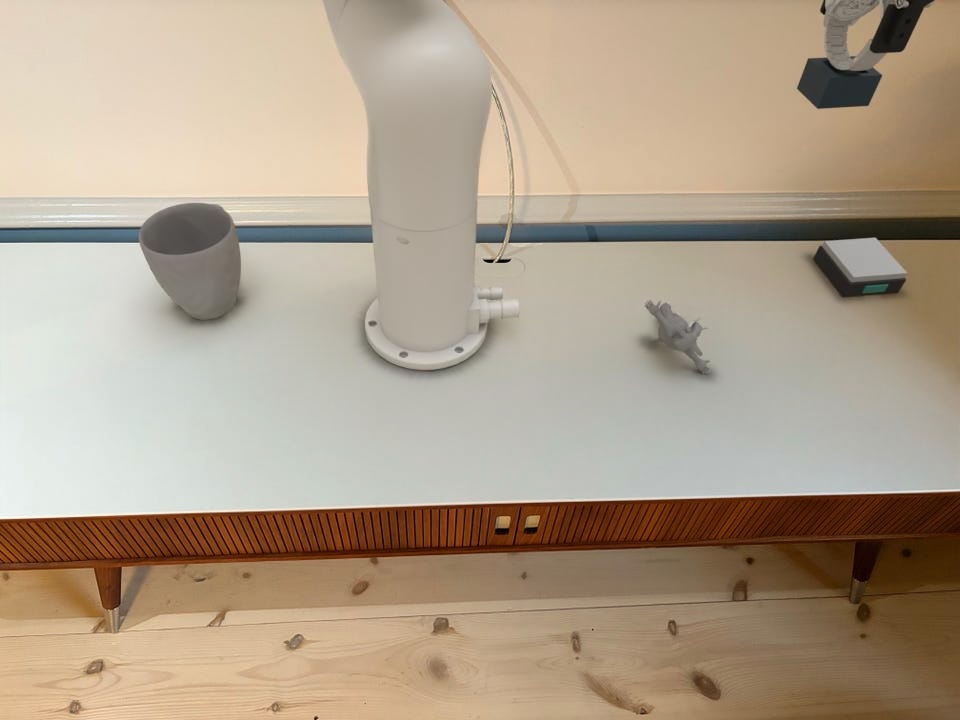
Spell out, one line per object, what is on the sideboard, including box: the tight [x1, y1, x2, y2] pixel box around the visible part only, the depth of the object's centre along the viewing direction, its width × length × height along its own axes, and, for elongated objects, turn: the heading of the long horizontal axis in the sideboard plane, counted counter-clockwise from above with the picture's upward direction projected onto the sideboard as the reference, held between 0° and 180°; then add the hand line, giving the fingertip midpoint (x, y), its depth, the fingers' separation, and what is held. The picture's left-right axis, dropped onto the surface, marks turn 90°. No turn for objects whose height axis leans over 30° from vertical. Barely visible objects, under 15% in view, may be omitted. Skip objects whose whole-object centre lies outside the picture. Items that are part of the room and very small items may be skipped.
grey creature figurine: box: [644, 299, 712, 375], centre depth 70 cm, size 10×6×9 cm
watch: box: [796, 0, 895, 110], centre depth 66 cm, size 6×8×11 cm
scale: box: [812, 237, 908, 298], centre depth 81 cm, size 7×7×3 cm
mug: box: [138, 202, 242, 321], centre depth 72 cm, size 12×9×10 cm
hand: (859, 30), depth 66 cm, fingers closed on watch, 8 cm apart
